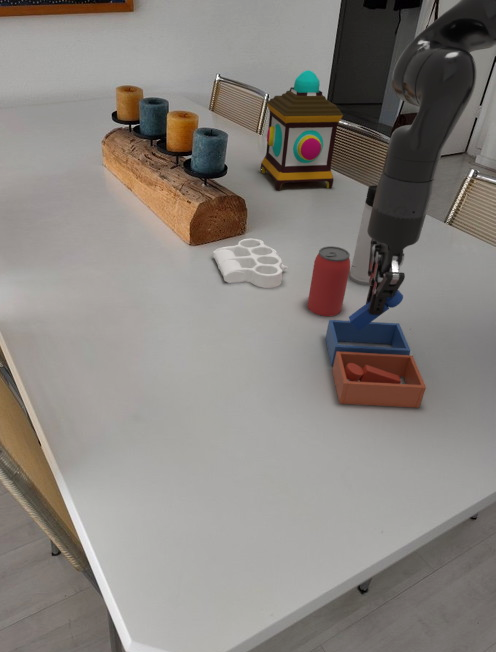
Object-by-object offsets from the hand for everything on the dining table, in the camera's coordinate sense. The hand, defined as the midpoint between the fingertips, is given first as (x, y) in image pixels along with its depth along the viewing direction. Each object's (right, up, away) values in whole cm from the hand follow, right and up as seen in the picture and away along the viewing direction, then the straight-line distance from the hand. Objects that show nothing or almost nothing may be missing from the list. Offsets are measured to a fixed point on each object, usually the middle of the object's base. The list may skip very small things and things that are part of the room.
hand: (373, 309), depth 88 cm
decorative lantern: (-2, +48, +77) cm, 90 cm away
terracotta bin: (-1, -13, -2) cm, 13 cm away
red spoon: (-2, -12, -3) cm, 12 cm away
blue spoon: (+1, 0, 0) cm, 1 cm away
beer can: (-5, +2, +17) cm, 18 cm away
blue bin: (0, -7, +5) cm, 9 cm away
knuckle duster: (-18, +12, +29) cm, 37 cm away
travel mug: (+6, +9, +28) cm, 30 cm away
